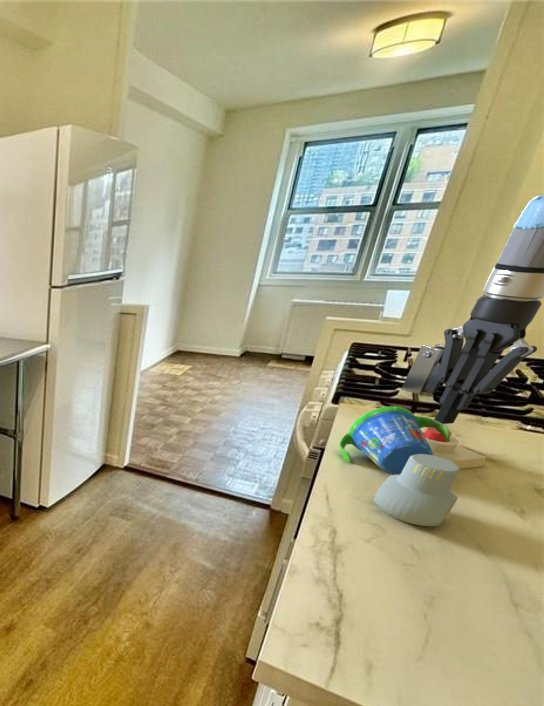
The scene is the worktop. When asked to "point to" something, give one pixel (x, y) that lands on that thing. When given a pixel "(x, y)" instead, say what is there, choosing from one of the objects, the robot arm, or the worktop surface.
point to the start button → (434, 435)
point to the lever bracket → (424, 371)
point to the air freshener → (420, 491)
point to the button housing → (455, 453)
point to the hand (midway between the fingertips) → (443, 421)
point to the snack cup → (390, 437)
